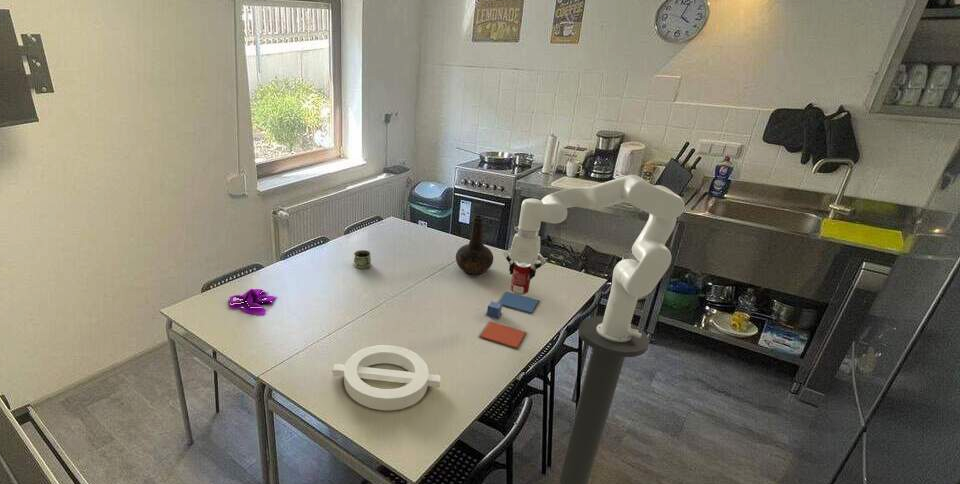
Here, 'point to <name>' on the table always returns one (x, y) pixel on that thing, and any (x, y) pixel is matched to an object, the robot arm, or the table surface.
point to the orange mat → (503, 334)
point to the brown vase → (475, 251)
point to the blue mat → (518, 302)
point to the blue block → (494, 309)
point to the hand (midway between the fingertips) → (521, 275)
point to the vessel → (362, 258)
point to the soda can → (520, 278)
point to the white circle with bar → (386, 377)
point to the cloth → (252, 301)
